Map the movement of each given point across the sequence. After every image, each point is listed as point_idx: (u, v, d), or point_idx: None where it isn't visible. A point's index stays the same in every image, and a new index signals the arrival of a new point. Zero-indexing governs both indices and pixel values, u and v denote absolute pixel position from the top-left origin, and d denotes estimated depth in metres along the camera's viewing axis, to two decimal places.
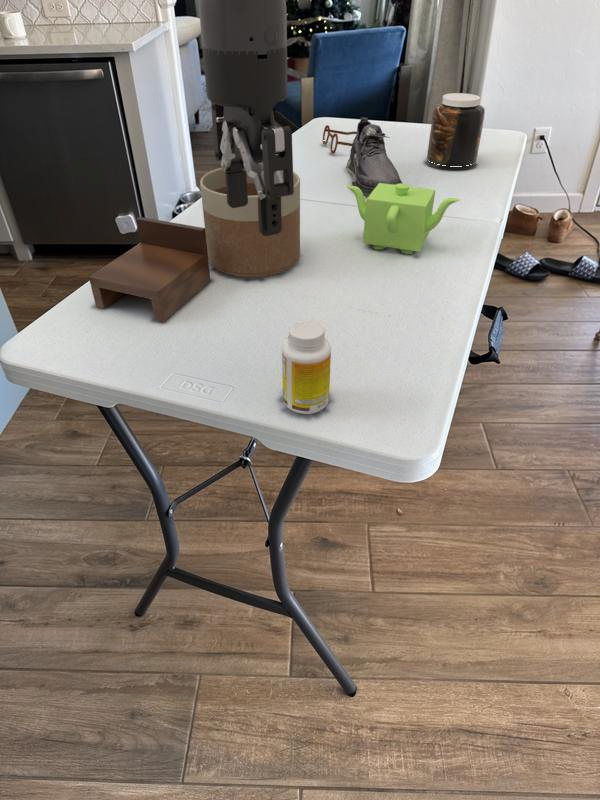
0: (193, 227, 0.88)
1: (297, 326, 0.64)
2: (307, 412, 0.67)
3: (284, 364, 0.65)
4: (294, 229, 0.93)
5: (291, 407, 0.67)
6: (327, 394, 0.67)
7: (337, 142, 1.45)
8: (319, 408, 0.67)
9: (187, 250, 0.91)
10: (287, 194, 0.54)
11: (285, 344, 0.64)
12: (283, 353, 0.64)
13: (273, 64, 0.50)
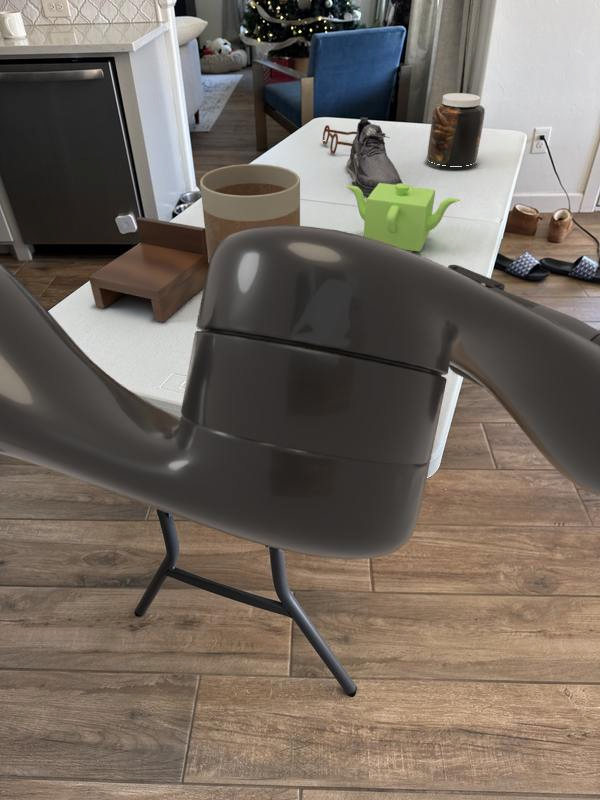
0: (193, 227, 0.88)
1: None
2: None
3: None
4: None
5: None
6: None
7: (337, 142, 1.45)
8: None
9: (187, 250, 0.91)
10: None
11: None
12: None
13: None
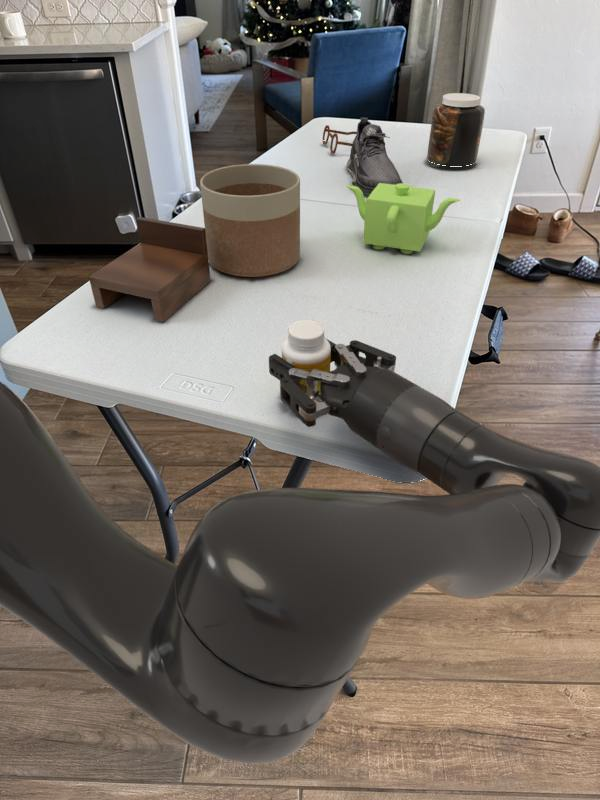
0: (193, 227, 0.88)
1: (296, 326, 0.64)
2: None
3: None
4: (294, 229, 0.93)
5: None
6: None
7: (337, 142, 1.45)
8: None
9: (187, 250, 0.91)
10: None
11: (285, 344, 0.64)
12: (283, 353, 0.64)
13: None
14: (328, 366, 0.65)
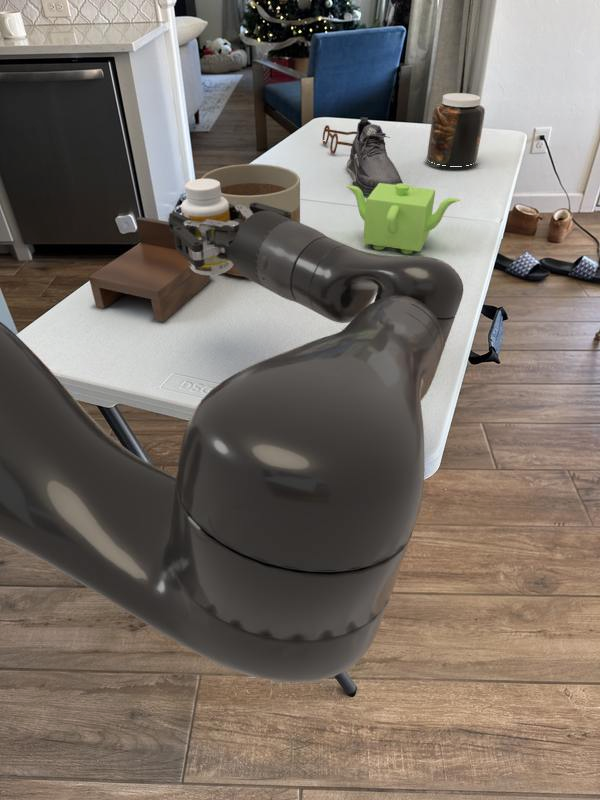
0: None
1: (194, 182, 0.66)
2: (209, 272, 0.69)
3: None
4: None
5: (194, 269, 0.70)
6: None
7: (337, 142, 1.45)
8: (221, 269, 0.69)
9: None
10: None
11: (184, 201, 0.67)
12: (181, 209, 0.66)
13: None
14: None
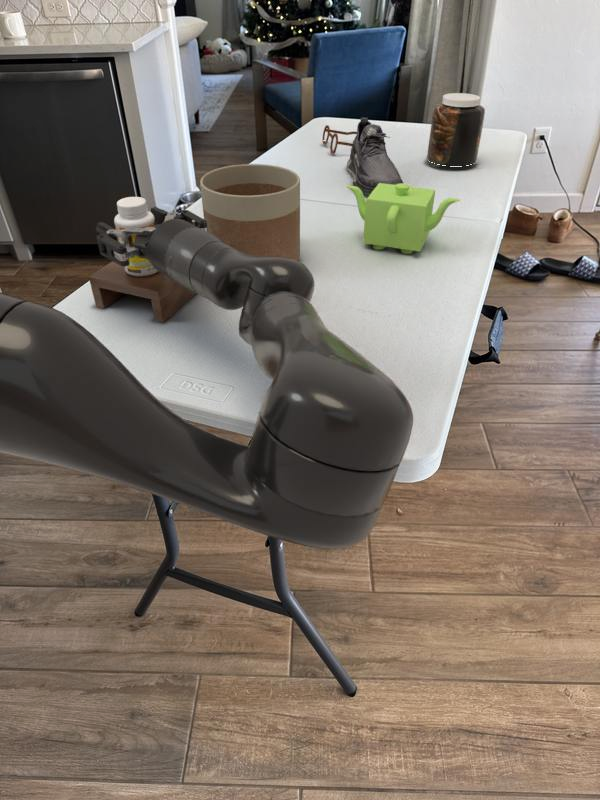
0: None
1: (124, 200, 0.80)
2: (139, 274, 0.83)
3: None
4: (294, 229, 0.93)
5: (127, 271, 0.84)
6: None
7: (337, 142, 1.45)
8: (150, 271, 0.84)
9: None
10: None
11: (116, 215, 0.81)
12: (114, 222, 0.80)
13: None
14: None
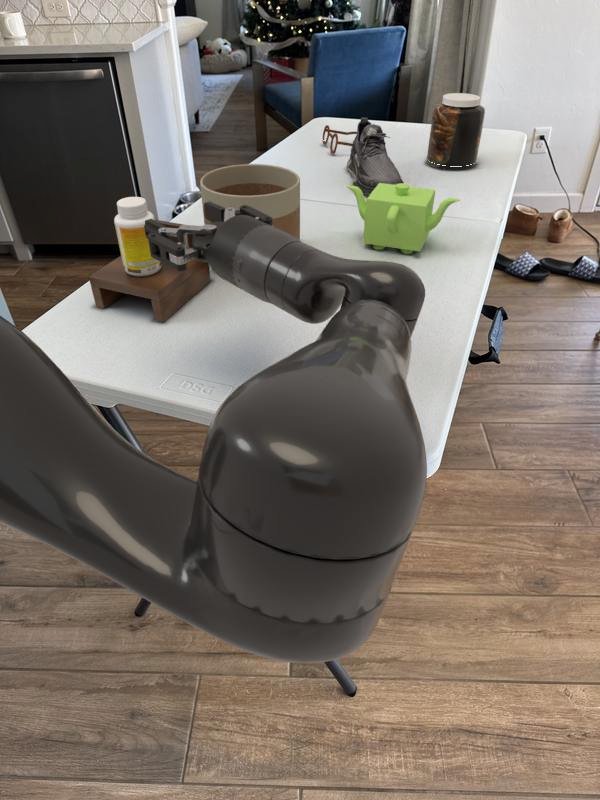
0: None
1: (124, 200, 0.80)
2: (139, 274, 0.83)
3: (116, 232, 0.81)
4: (294, 229, 0.93)
5: (127, 271, 0.84)
6: (156, 260, 0.84)
7: (337, 142, 1.45)
8: (150, 271, 0.84)
9: None
10: None
11: (116, 215, 0.81)
12: (114, 222, 0.80)
13: None
14: None
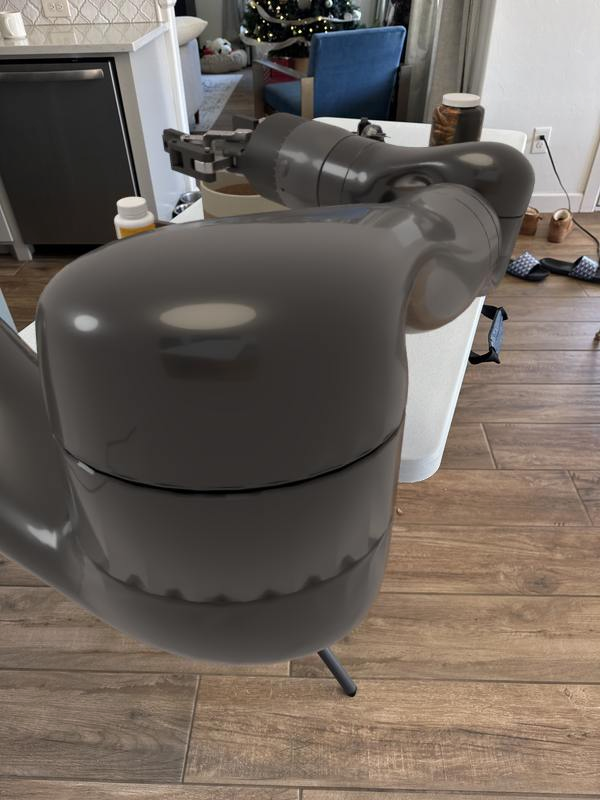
0: None
1: (124, 200, 0.80)
2: None
3: (116, 232, 0.81)
4: None
5: None
6: None
7: None
8: None
9: None
10: None
11: (116, 215, 0.81)
12: (114, 222, 0.80)
13: None
14: None
